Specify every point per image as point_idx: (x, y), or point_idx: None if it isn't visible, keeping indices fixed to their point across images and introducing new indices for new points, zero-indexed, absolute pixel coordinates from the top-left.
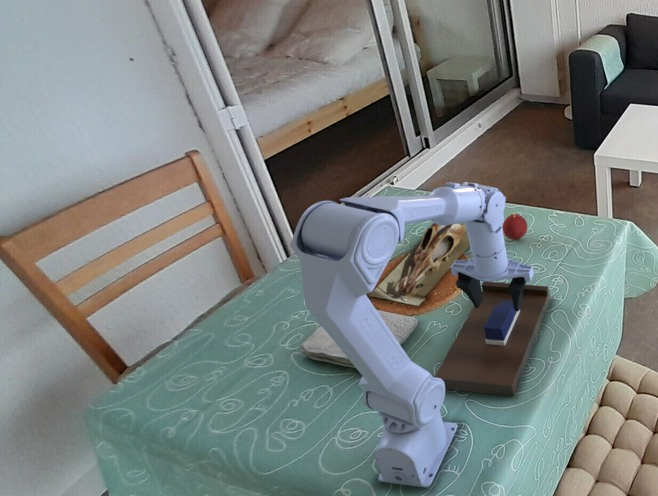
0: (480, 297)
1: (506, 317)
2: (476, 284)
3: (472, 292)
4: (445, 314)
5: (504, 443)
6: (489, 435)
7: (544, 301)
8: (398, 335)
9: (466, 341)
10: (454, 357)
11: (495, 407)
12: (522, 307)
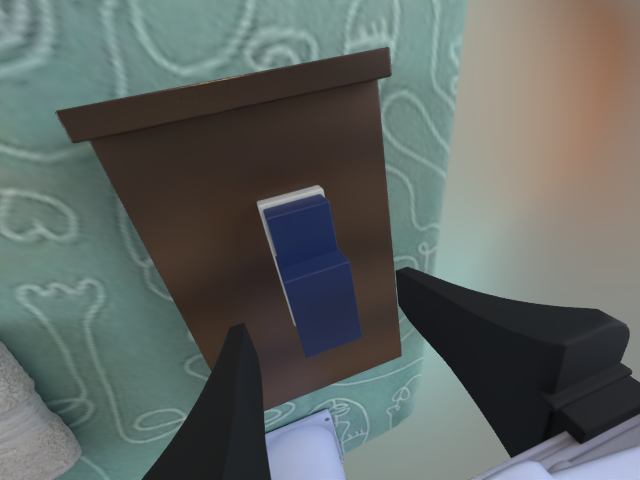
0: (250, 353)
1: (354, 302)
2: (251, 440)
3: (267, 465)
4: (32, 250)
5: (404, 386)
6: (379, 390)
7: (377, 111)
8: (2, 413)
9: None
10: None
11: None
12: (317, 166)
